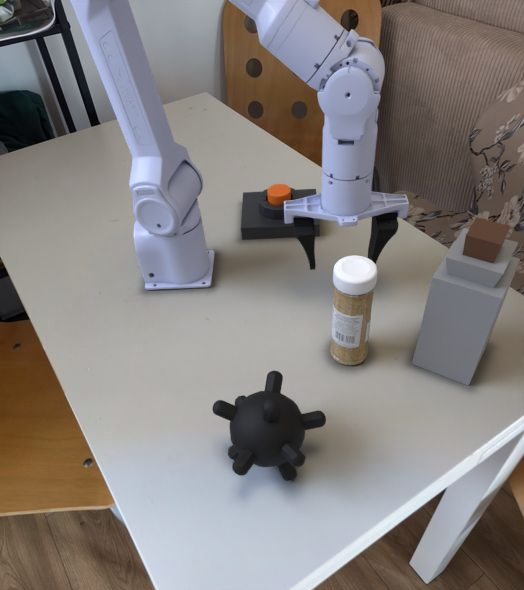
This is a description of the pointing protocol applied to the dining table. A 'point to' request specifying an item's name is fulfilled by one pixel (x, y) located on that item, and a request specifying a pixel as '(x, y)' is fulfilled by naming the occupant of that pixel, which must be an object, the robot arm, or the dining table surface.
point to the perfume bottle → (466, 301)
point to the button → (278, 194)
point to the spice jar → (352, 308)
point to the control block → (269, 216)
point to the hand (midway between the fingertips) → (341, 263)
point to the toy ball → (267, 429)
